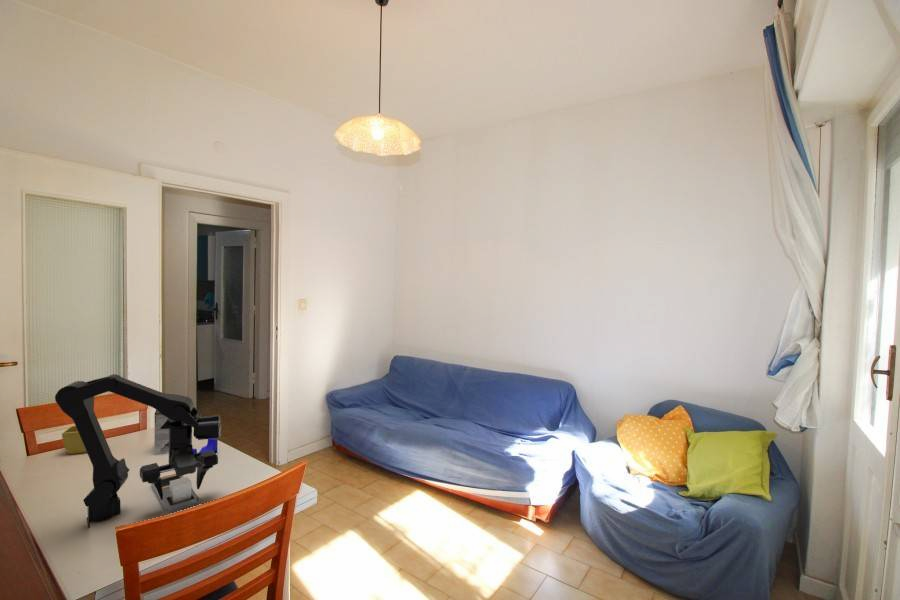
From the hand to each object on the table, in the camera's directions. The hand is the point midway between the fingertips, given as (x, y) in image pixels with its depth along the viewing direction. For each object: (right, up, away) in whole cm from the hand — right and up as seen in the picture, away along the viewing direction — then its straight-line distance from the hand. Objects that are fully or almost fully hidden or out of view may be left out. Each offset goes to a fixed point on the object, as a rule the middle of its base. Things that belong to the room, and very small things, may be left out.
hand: (180, 493), depth 123 cm
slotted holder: (-5, -4, +5) cm, 8 cm away
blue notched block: (-14, -3, +34) cm, 37 cm away
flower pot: (-63, -1, +38) cm, 73 cm away
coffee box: (-33, -2, +42) cm, 54 cm away
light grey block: (0, -3, 0) cm, 3 cm away
